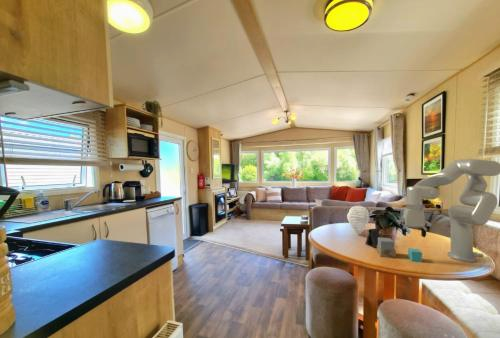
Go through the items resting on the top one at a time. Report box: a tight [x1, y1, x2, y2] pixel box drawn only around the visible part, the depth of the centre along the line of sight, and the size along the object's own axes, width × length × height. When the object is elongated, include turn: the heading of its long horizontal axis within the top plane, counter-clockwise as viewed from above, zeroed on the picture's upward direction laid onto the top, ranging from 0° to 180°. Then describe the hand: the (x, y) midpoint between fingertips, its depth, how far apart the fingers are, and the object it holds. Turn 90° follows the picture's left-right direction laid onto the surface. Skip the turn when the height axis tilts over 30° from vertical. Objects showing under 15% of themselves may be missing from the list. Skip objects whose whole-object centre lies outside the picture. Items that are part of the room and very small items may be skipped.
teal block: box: [407, 248, 423, 263], centre depth 126 cm, size 5×5×6 cm
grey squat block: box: [378, 237, 395, 250], centre depth 134 cm, size 7×7×5 cm
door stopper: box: [365, 227, 381, 250], centre depth 149 cm, size 9×6×12 cm, turn 14°
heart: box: [346, 205, 370, 235], centre depth 174 cm, size 28×16×22 cm, turn 150°
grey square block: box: [376, 245, 397, 259], centre depth 134 cm, size 8×8×5 cm
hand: (413, 235), depth 126 cm, fingers open, 9 cm apart
